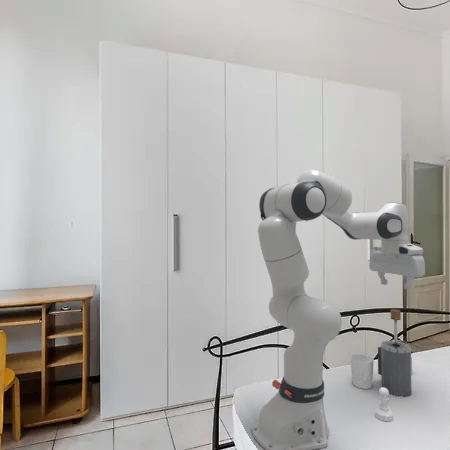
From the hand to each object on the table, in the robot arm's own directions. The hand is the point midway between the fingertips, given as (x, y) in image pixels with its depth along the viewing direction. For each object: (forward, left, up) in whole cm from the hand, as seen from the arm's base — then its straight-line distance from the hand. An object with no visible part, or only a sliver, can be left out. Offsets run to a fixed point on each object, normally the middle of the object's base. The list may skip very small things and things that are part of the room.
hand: (395, 286), depth 118 cm
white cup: (-8, +8, -37) cm, 39 cm away
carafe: (0, +1, -37) cm, 37 cm away
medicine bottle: (+14, +10, -37) cm, 41 cm away
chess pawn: (-18, -10, -37) cm, 43 cm away
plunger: (0, 0, -27) cm, 27 cm away
